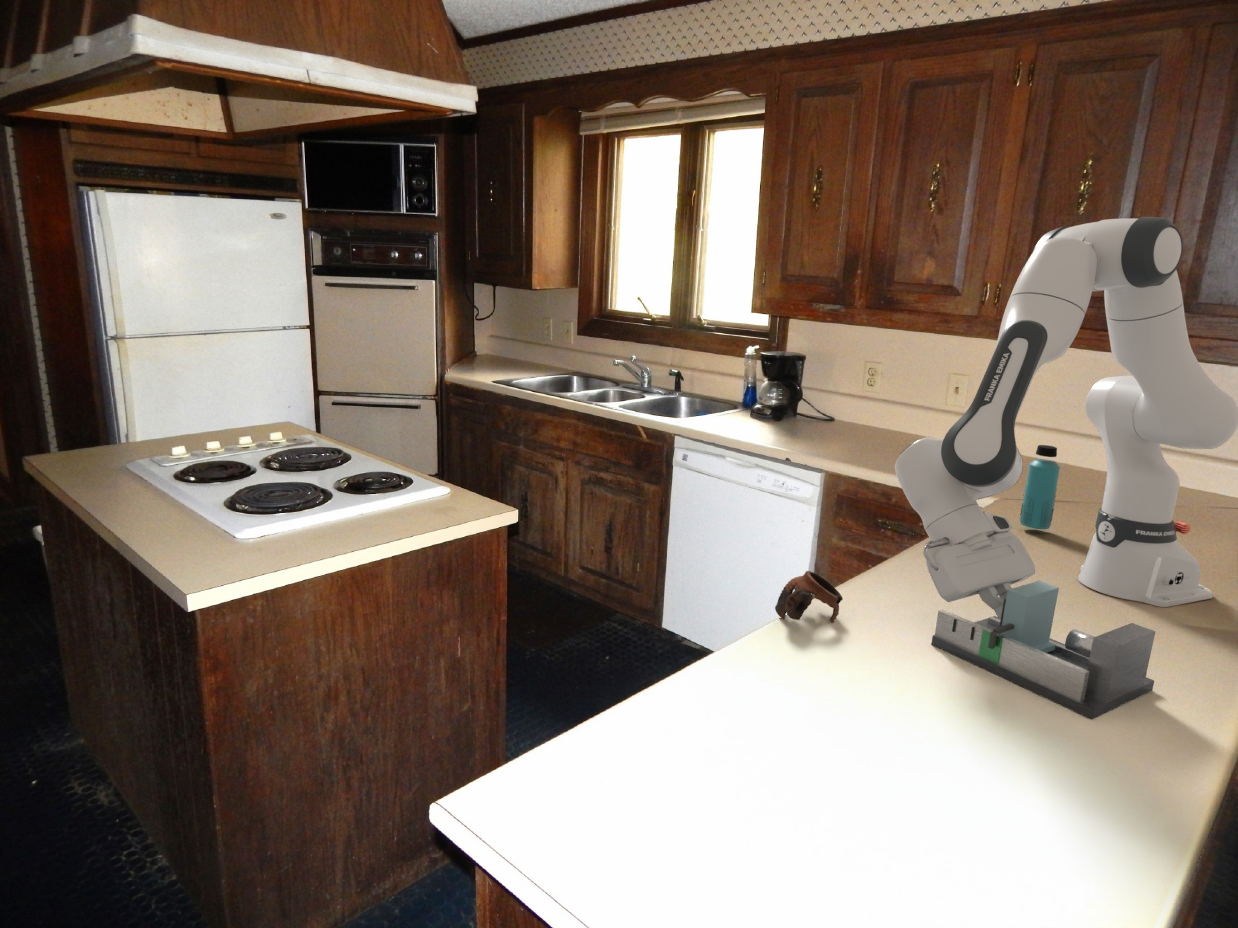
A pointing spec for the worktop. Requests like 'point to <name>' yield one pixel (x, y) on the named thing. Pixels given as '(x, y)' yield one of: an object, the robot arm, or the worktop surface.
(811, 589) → the brown hollow ring part
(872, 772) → the worktop surface
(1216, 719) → the worktop surface
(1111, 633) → the frame
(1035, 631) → the gauge slider
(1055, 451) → the beverage bottle
